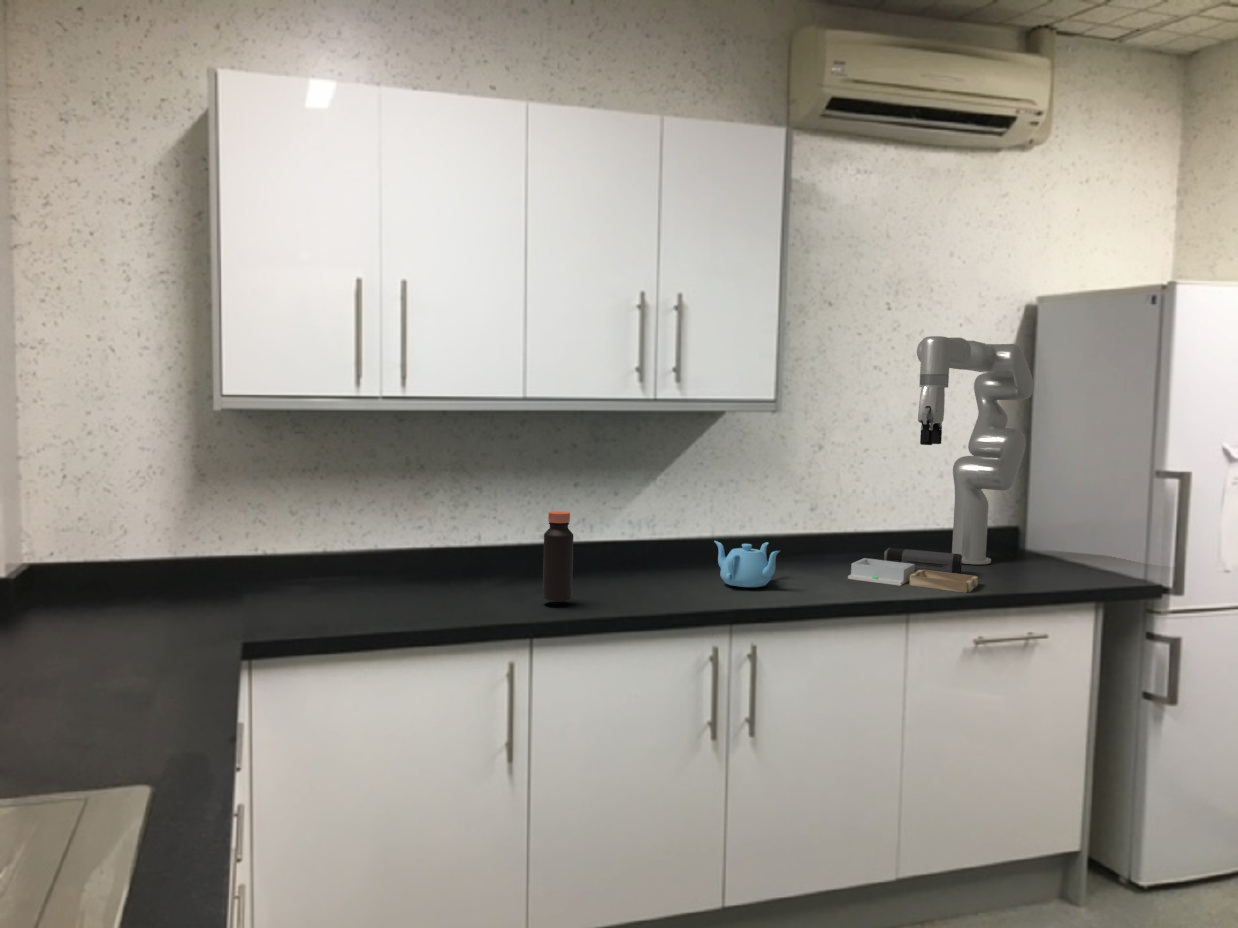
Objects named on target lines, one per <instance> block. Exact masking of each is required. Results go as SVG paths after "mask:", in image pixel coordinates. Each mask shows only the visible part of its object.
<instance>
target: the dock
mask: <svg viewBox="0 0 1238 928" xmlns="http://www.w3.org/2000/svg"><path fill="white" fill-rule="evenodd" d="M850 566H851V567H850V574H849V575H847V580H848V579H849V580H854V581H862V582H870V583H877V584H878V583H879V584H885V585H894V586H900V587H901V586H902V585H904V584H906V583H909V582H910V575H911V574H913V573H914V571H915V564H910V563H901V562H893V561H884V559H875V558H866V557H864V558H861V559H859V560H856V561H854V562H852V563H851V565H850Z"/></svg>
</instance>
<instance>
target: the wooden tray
mask: <svg viewBox="0 0 1238 928" xmlns="http://www.w3.org/2000/svg"><path fill="white" fill-rule="evenodd" d="M978 580H979V576H977V575H972V574H964V573H961V574H956V573H948V572H940V571H931V570H923V569H922V570H918V571H917V572H915V573H913V574H911V575H910V581H909V582H908V583H909V586H912V587H920V588H929V589H934V590H936V589H937V590H943V591H949V592H950V591H951V592H958V593H970V592H972V591H973V590H974V589H975V588H976V587H978V584H979V583H978V582H979V581H978Z"/></svg>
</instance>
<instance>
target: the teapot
mask: <svg viewBox="0 0 1238 928" xmlns="http://www.w3.org/2000/svg"><path fill="white" fill-rule="evenodd" d="M713 542H714V543H715V545H716V546H717V548H718V556H717V562H718V563H717V565H718V566H719V569H720V573H719V574H720V578H721V580H722V581H723V582H724V583H725V584H727V585H729V586H734V587H742V588H759V587H765V586H767V584H768V583H769V582H770V581H771V579H772V576H773V575H774V574H775V572H776V566H777V565H776V559H777V555H778V554H779V553H780V552H781V550H775V551H772V552H770V554H769V558H767V548H768V545H769V542H768V541H767V542H764V543H762V544H761V546H760V549H756V548H752V547H753V544H752V543H742V544H741V547H738V548H737V547H736V548H732V549H730V551H729V553H728V554H727V556H726V554H725V548H724V545H723V544H722V543H721V542H719V541H718V540H714V541H713Z"/></svg>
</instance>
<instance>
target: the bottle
mask: <svg viewBox="0 0 1238 928" xmlns="http://www.w3.org/2000/svg"><path fill="white" fill-rule="evenodd" d="M570 520H571V513H570V512H569V511H559V510H558V511H557V510H555V511H548V520H547V521H548V524H549V528H548V529H547V530H546V531H545V532H544V534H543V557H542V558H543V559H542V560H543V561H542V564H543V565H542V567H543V569H542V572H543V573H542V598H543V599H544V600H547V601H550V602H551V601H552V602H565V601H568V600H571V599H573V598H572V597H573V574H574V573H573V569H574V533H573V532H572V531H571V530H570V529H569V525H570Z"/></svg>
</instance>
